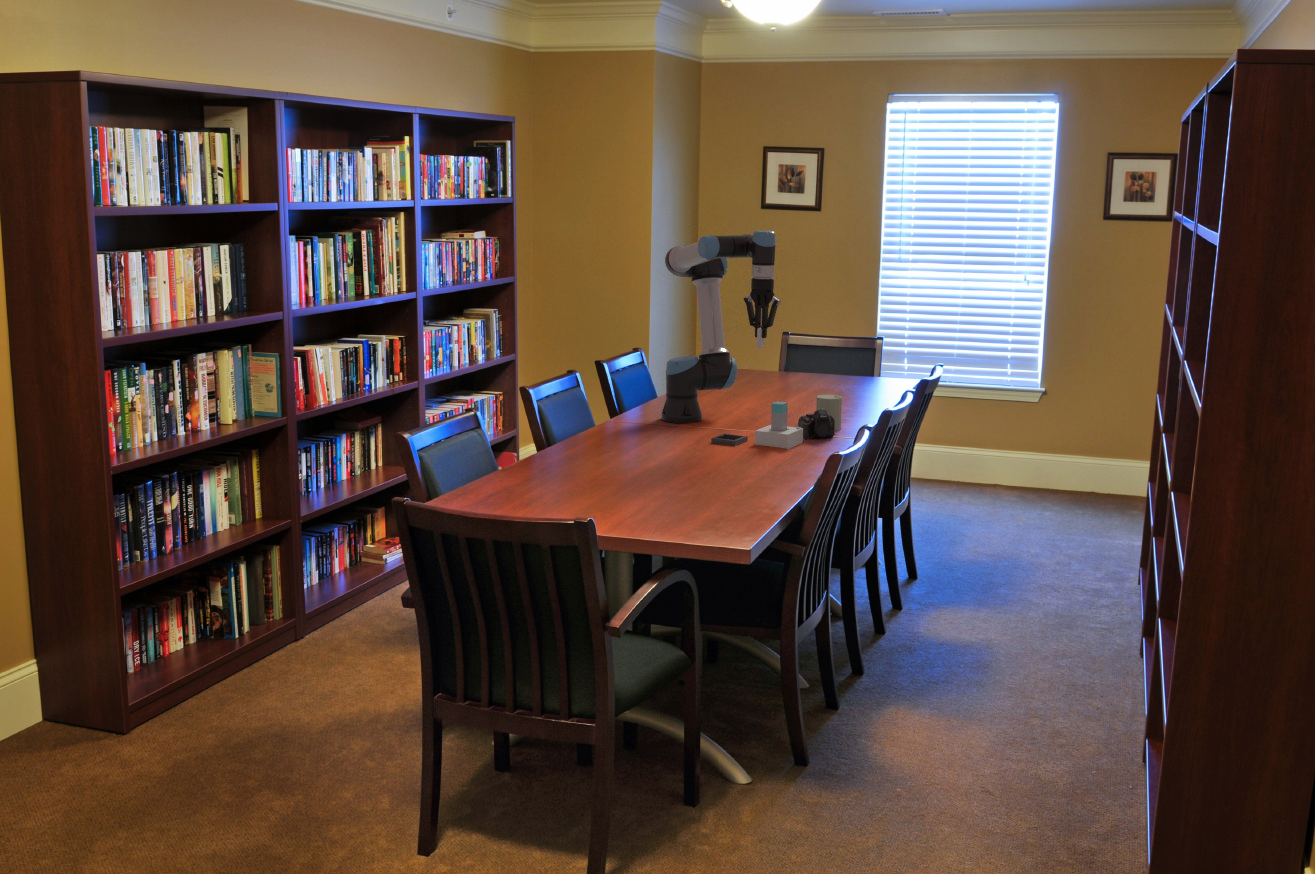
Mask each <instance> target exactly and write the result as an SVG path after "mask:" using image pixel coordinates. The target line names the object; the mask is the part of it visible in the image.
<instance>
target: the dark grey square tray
mask: <svg viewBox="0 0 1315 874" xmlns="http://www.w3.org/2000/svg"><path fill="white" fill-rule="evenodd" d="M748 437H749V436H748V435H742V434H732V433H722V434H719V435H717V436H716V435H715V436H714V437H711V439H710V441H711V444H716V445H717V444H718V445H724V446H725V445H727V446H733V447H736V446H739V445H741V444H743V443H746V442H748Z"/></svg>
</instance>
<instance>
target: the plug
mask: <svg viewBox="0 0 1315 874" xmlns="http://www.w3.org/2000/svg"><path fill="white" fill-rule="evenodd" d="M788 405H789V403H788V402H785V401H774V402H772V403H771V413H770V415H771V417H770V418H771V423H770V425H771V430H772V431H781V432H784V431H786V430H787V426H788V409H789V408H788V407H789V406H788Z"/></svg>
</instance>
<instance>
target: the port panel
mask: <svg viewBox="0 0 1315 874" xmlns="http://www.w3.org/2000/svg"><path fill="white" fill-rule="evenodd" d="M803 441H804V438H803V428H801V427H798V426H788V425H787V430H786V431H784V432H781V431H772V430H771V424H769V425H766V426H764V427H761V428H759V429H758V428H757V429H756V430H754V445H756V446H757V445H758V446H765V447H766V446H767V447H771V448H772V447H773V448H781V449H782V448H783V450H791V449H792V448H794V447H796V446H799V445H801V444H803Z"/></svg>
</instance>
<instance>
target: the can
mask: <svg viewBox="0 0 1315 874" xmlns="http://www.w3.org/2000/svg"><path fill="white" fill-rule="evenodd" d="M842 404H843V396H841V395H838V394H818V395H817V396H816V407H815V408H816V409H815V410H816V411H817V410H818V408H819V409H822V408H824V410H826V411H827V413H828V415H830V416H833V418H834V420H835V431H837V432H838V431H840V430H841V429H842Z"/></svg>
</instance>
